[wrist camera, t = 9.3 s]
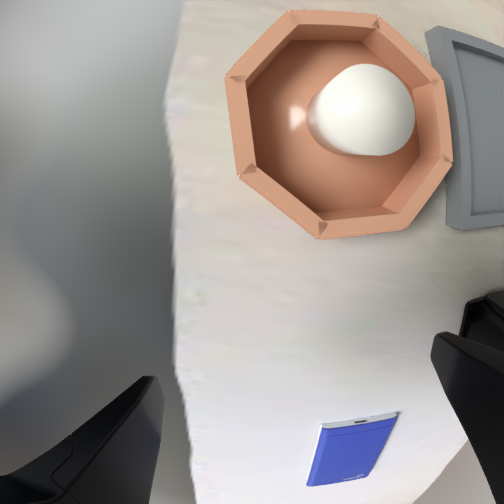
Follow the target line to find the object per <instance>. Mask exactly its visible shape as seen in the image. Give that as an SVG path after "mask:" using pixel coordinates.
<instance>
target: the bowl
mask: <svg viewBox="0 0 504 504" xmlns="http://www.w3.org/2000/svg"><path fill="white" fill-rule="evenodd" d="M358 64H373V65H377V66H380V67H382V68H384V69H386V70H388V71H390V72H391V73H393V74H394V75H395V76H396V77H397V78H399V80H400V81H401V82H402V83H403V84H404V86H405V87H406V88H407V90H408V92H409V94H410V96H411V98H412V101H413V105H414V110H415V123H414V128H413V132H412V134H411V136H410V138H409V140H408V141H407V142H406V144H405V145H404V146H403V147H401V148H400V149H399V150H397V151H396V152H393V153H391V154H387V155H381V156H378V155H340V154H335V153H332V152H329V151H327V150H325V149H324V148H322V147H321V146H320V145H319V144H318V143H317V142H316V141H315V140H314V138H313V137H312V135H311V134H310V131H309V129H308V126H307V121H306V112H307V107H308V104H309V102H310V100H311V99H312V97H313V96H314V95H315V94H316V93H317V92H318V91H319V90H320V89H322V88H323V87H324V86H325V85H326V84H328V83H329V82H330V81H331V80H332V79H334V78H335V77H336V76H337V75H338V74H340V73H341V72H342V71H344V70H345V69H347V68H349V67H351V66H354V65H358ZM441 78H442V77H441V76H440V75H439V74H438V72H437V71H436V70H435V69H434V68H433V67H432V66H431V65H430V64H429V63H428V62H427V61H426V59H425V58H424V57H423V56H422V55H421V54H420V53H419V52H418V51H417V50H416V49H415V48H414V47H413V46H412V45H411V44H410V43H409V42H408V41H407V40H405V39H404V38H403V37H402V36H401V35H400V34H399V33H398V32H397V31H396V30H395V29H393V28H392V27H391V26H390V25H389V24H388V23H387V22H385V21H384V20H383V19H382V18H381V17H379V18H378V17H377V15H371V14H363V13H353V12H341V11H323V10H289V12H285V13H284V14H283V15H282V16H281V17H280V18H279V19H278V20H277V21H276V22H275V23H274V24H273V25H272V26H271V27H270V28H269V29H268V30H267V31H266V32H265V33H264V34H263V35H262V36H261V37H260V38H259V39H258V40H257V41H256V42H255V43H254V44H253V45H252V46H251V47H250V48H249V49H248V50H247V51H246V52H245V53H244V55H243V56H242V57H241V58H240V59H239V60H238V61H237V62H236V63H235V64H234V66H233V67H232V68H231V69H230V70H229V71H228V72H227V73H226V77H225V86H226V94H227V102H228V109H229V117H230V125H231V133H232V140H233V148H234V156H235V163H236V171H237V175H240V176H239V179H241V180H242V181H243V182H245V183H246V184H247V185H249V186H250V187H251V188H253V189H254V190H255V191H257V192H258V193H259V194H260V195H262V196H263V197H264V198H266V199H267V200H268V201H269V202H271V203H272V204H273V205H275V206H276V207H277V208H278V209H280V210H281V211H282V212H283V213H285V214H286V215H287V216H288V217H290V218H291V219H292V220H293V221H295V222H296V223H297V224H298V225H300V226H301V227H302V228H303V229H305V230H306V231H307V232H308V233H310V234H311V235H312V236H313V237H314V238H316V239H317V238H318V239H319V240H325V239H333V238H342V237H350V236H358V235H366V234H375V233H383V232H391V231H400V230H404V228H407V227H408V226H409V224H410V223H411V222H412V220H413V219H414V218H415V217H416V215H417V214H418V213H419V211H420V210H421V209H422V207H423V206H424V204H425V203H426V202H427V200H428V199H429V198H430V196H431V195H432V193H433V192H434V191H435V189H436V188H437V186H438V185H439V184H440V182H441V181H442V179H443V178H444V176H445V175H446V173H447V172H448V170H449V169H450V167H451V166H452V163H451V162H453V152H452V140H451V129H450V120H449V113H448V105H447V99H446V93H445V87H444V81H443V80H441Z"/></svg>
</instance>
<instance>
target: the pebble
mask: <svg viewBox="0 0 504 504" xmlns="http://www.w3.org/2000/svg"><path fill="white" fill-rule="evenodd" d="M306 121H307V126H308V129H309V131H310V134H311V135H312V137H313V138H314V140H315V141H316V142H317V143H318V144H319V145H320V146H321V147H322V148H324V149H325V150H327V151H329V152H332V153H335V154H340V155H378V156H381V155H387V154H391V153H393V152H396V151H397V150H399V149H400V148H401V147H403V146H404V145H405V144H406V142H407V141H408V140H409V138H410V136H411V134H412V132H413V128H414V123H415V110H414V105H413V101H412V98H411V96H410V94H409V92H408V90H407V88H406V87H405V86H404V84H403V83H402V82H401V81H400V80H399V78H397V77H396V76H395V75H394V74H393V73H391V72H390V71H388V70H386V69H384V68H382V67H380V66H377V65H373V64H358V65H354V66H351V67H349V68H347V69H345V70H344V71H342V72H341V73H340V74H338V75H337V76H336V77H335V78H334V79H332V80H331V81H330V82H329V83H328V84H326V85H325V86H324V87H323V88H322V89H320V90H319V91H318V92H317V93H316V94H315V95H314V96H313V97H312V99H311V100H310V102H309V104H308V107H307V112H306Z"/></svg>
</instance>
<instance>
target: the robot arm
mask: <svg viewBox="0 0 504 504" xmlns="http://www.w3.org/2000/svg"><path fill="white" fill-rule="evenodd" d="M431 361H432V363H433V366H434V368H435V370H436V372H437V375H438V377H439V380H440V382H441V384H442V387H443V389H444V391H445V394H446V396H447V398H448V400H449V402H450V404H451V405H452V407H453V409H454V411H455V413H456V415H457V417H458V419H459V421H460V423H461V425H462V427H463V429H464V431H465V433H466V435H467V437H468V439H469V441H470V443H471V445H472V447H473V449H474V452H475V454H476V456H477V458H478V460H479V463H480V465H481V466H482V469H483V472H484V474H485V476H486V479H487V481H488V484H489V486H490V489H491V491H492V494H493V496H494V499H495V501H496V504H504V291H500V292H497V293H494V294H491V295H487V296H485V297H483V298H479V299H476V300H473V301H470V302H468V303H467V304H466V306H465V310H464V315H463V320H462V324H461V329H460V333H459V336H458V335H455V334H452V333H449V332H446V331H445V332H441V333H438V334H436V335H435V337H434V341H433V346H432V350H431ZM164 401H165V399H164V393H163V391H162V389H161V386H160V384H159V381H158V379H157V377H156V376H153V375H149V376H148V375H145V376H142V377H141V378H140V379H138V380H137V381H136V382H135V383H134V384H132V385H131V386H130V387H129V388H128V389H126V390H125V391H124V392H123V393H121V394H120V395H119V396H118V397H116V398H115V399H114V400H113V401H111V402H110V403H109V404H108V405H107V406H105V407H104V408H103V409H102V410H100V411H99V412H98V413H97V414H95V415H94V416H93V417H92V418H90V419H89V420H88V421H87V422H85V423H84V424H83V425H81V426H80V427H79V428H78V429H76V430H75V431H74V432H73V433H72V434H71V435H69V436H67V437H66V438H65V439H64V440H62V441H61V442H60V443H58V444H57V445H56V446H54V447H53V448H52V449H50V450H49V451H47V452H45V453H44V454H42V455H41V456H39V457H38V458H36V459H34V460H33V461H31V462H29V463H28V464H26V465H24V466H23V467H21V468H19V469H18V470H16V471H14V472H12V473H10V474H7V475H3V476H0V504H149V499H150V494H151V488H152V483H153V478H154V472H155V468H156V463H157V458H158V453H159V448H160V442H161V435H162V423H163V413H164Z"/></svg>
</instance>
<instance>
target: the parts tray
mask: <svg viewBox="0 0 504 504" xmlns="http://www.w3.org/2000/svg"><path fill="white" fill-rule="evenodd" d="M425 37H426V41H427V45H428V49H429V53H430V57H431V62H432V66H433V68H434V69H435V70H436V71H437V72H438V74H439V75H440V76H441V77H442V78H441V80H443V81H444V87H445V93H446V99H447V105H448V113H449V120H450V129H451V140H452V152H453V162H451V163H452V166H451V167H450V169H449V170H448V172H447V173H446V225H448V226H451V227H453V228H455V229H458V230H460V231H463V230H471V229H478V228H486V227H493V226H500V225H504V48H502V47H500V46H498V45H495V44H493V43H490V42H488V41H485V40H482V39H480V38H477V37H474V36H471V35H468V34H465V33H462V32H459V31H456V30H452V29H449V28H445V27H442V26H436V27H434V28H433V29H431V30H429V31H427V32H426V33H425Z"/></svg>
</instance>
